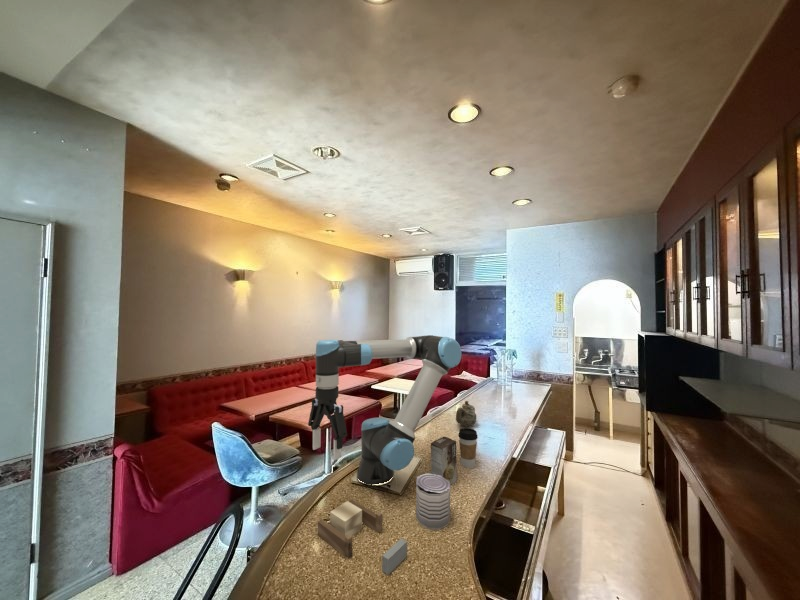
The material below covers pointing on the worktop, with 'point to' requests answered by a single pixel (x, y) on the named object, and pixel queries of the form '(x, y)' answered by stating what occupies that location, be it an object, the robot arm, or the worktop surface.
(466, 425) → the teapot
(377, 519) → the chute
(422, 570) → the worktop surface
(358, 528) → the block
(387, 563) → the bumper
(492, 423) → the worktop surface
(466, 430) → the coffee cup
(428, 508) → the can
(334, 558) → the worktop surface
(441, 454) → the coffee box
